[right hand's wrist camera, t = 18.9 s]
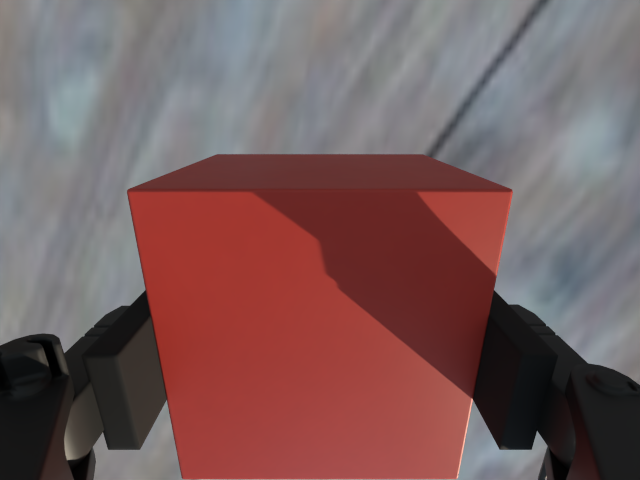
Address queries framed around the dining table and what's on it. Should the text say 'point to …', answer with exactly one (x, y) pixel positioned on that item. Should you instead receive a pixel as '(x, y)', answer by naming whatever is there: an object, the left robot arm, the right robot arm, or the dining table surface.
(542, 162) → the dining table surface
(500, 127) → the dining table surface
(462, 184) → the brick
